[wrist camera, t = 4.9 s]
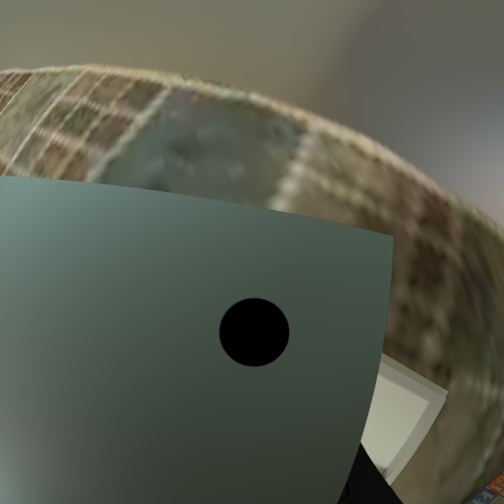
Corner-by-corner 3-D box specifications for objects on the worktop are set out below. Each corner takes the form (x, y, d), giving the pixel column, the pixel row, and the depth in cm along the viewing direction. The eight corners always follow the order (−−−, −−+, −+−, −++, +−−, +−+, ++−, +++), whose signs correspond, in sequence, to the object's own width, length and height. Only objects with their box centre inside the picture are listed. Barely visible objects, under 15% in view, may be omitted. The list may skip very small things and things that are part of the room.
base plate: (375, 487, 15) (385, 498, 13) (278, 450, 16) (281, 463, 14) (440, 389, 17) (455, 392, 15) (354, 339, 19) (365, 339, 17)
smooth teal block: (256, 407, 13) (264, 619, 1) (166, 385, 14) (-38, 472, 1) (275, 319, 15) (393, 236, 2) (185, 299, 15) (-12, 175, 2)
